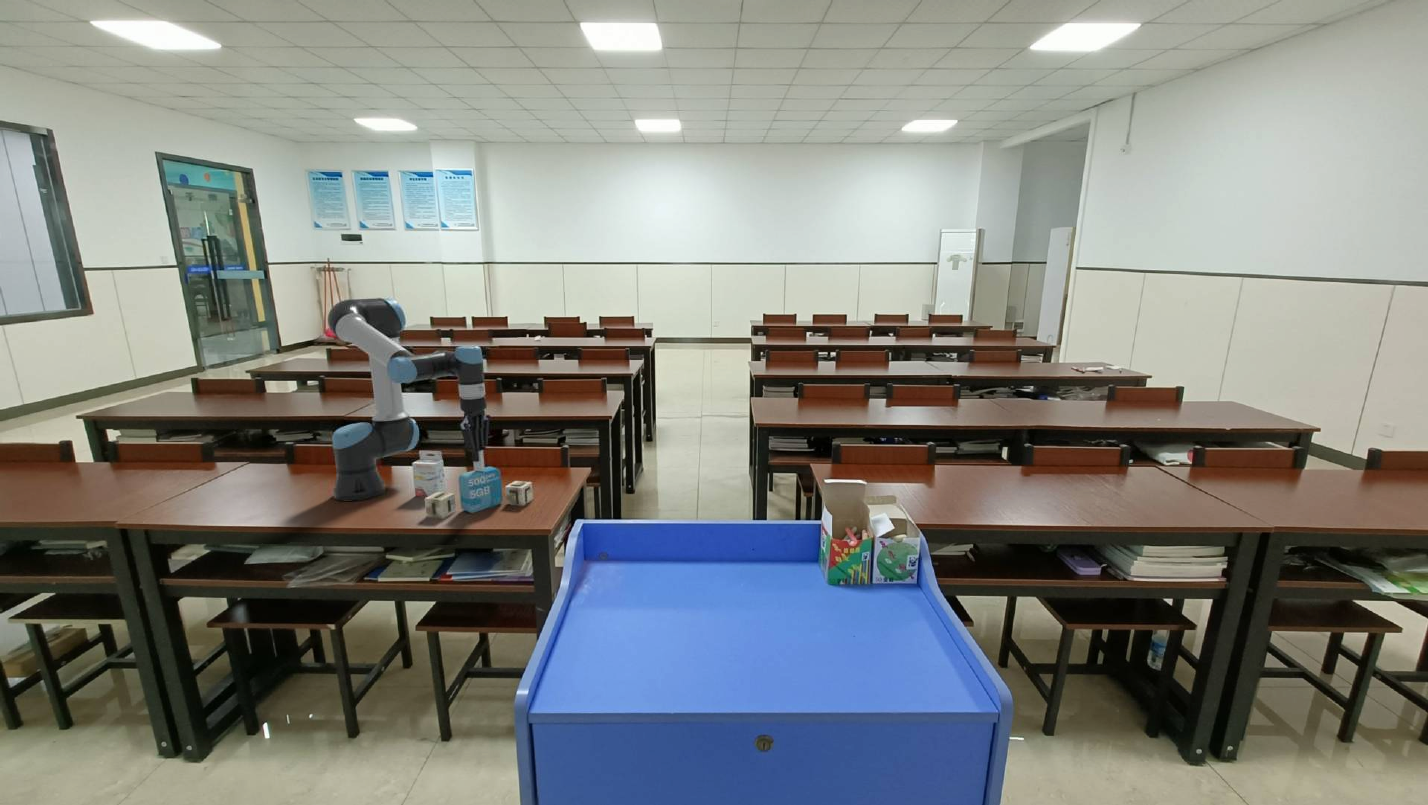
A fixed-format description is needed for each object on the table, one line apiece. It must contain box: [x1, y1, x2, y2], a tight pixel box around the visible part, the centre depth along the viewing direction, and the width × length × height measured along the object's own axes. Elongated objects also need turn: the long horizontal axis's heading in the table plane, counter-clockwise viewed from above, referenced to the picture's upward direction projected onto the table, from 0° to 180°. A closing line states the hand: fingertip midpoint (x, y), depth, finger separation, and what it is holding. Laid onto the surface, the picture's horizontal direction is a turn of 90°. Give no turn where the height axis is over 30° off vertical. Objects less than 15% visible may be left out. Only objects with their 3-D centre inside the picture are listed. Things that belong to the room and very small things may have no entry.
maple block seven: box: [504, 480, 534, 507], centre depth 201 cm, size 6×6×6 cm
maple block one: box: [424, 492, 457, 520], centre depth 191 cm, size 6×6×6 cm
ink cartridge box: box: [411, 450, 447, 498], centre depth 207 cm, size 9×5×15 cm, turn 84°
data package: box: [458, 466, 504, 514], centre depth 196 cm, size 12×4×12 cm, turn 141°
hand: (479, 470), depth 194 cm, fingers closed
